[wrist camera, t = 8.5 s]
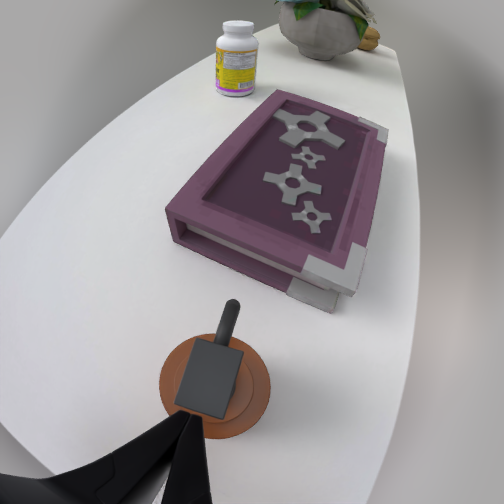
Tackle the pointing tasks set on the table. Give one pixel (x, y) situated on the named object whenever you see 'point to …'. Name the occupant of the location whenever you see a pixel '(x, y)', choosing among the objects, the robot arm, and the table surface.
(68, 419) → the table surface
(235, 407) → the soap bottle
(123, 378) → the table surface
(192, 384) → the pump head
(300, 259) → the book
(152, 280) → the table surface
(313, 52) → the flower arrangement
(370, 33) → the pot
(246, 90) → the supplement bottle
